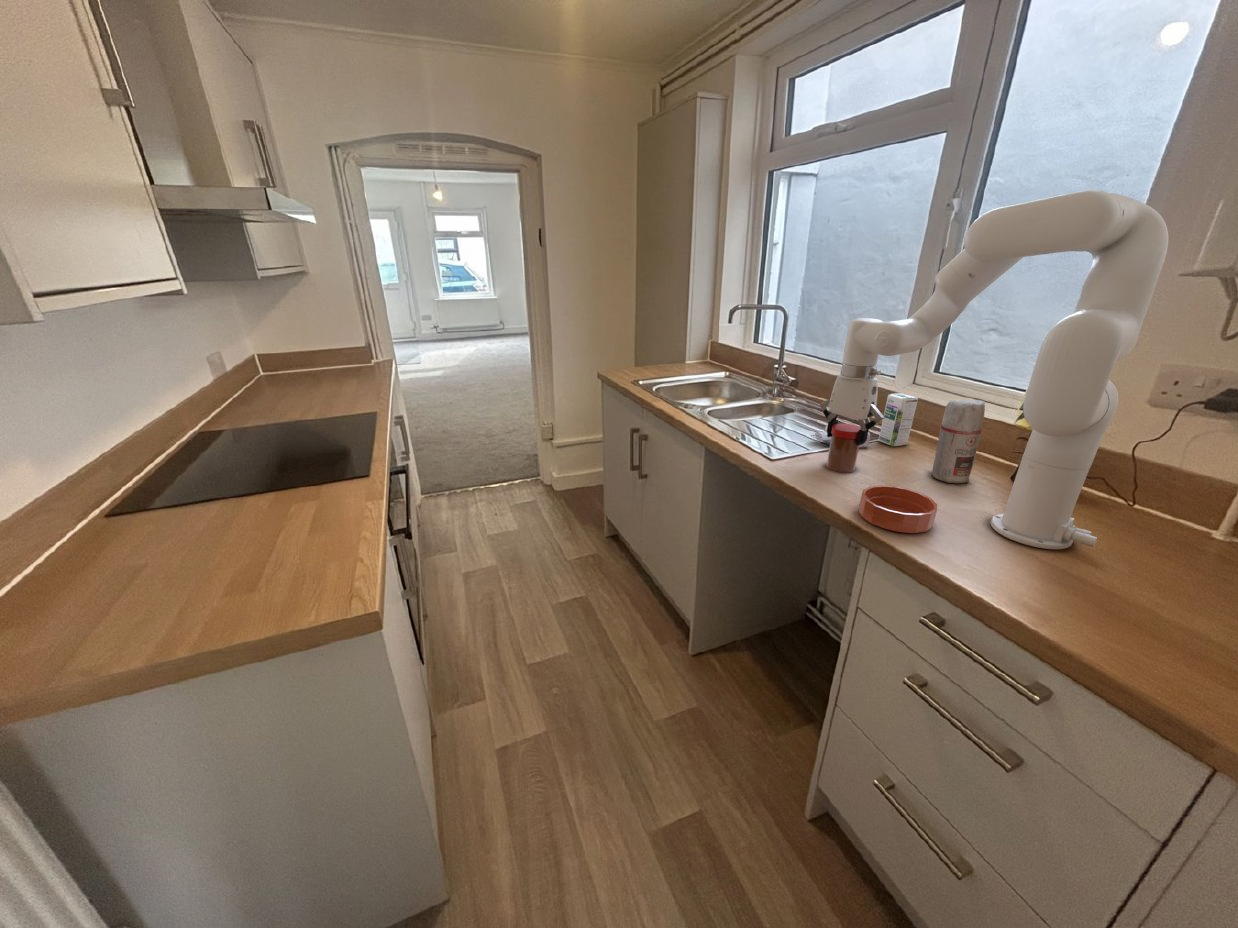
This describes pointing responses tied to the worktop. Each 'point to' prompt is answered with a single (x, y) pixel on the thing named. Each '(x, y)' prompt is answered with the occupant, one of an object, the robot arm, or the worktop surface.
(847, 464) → the jar
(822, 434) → the charger
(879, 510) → the dish
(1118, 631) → the worktop surface
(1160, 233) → the robot arm
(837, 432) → the lid
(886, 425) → the syrup box
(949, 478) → the spray can
